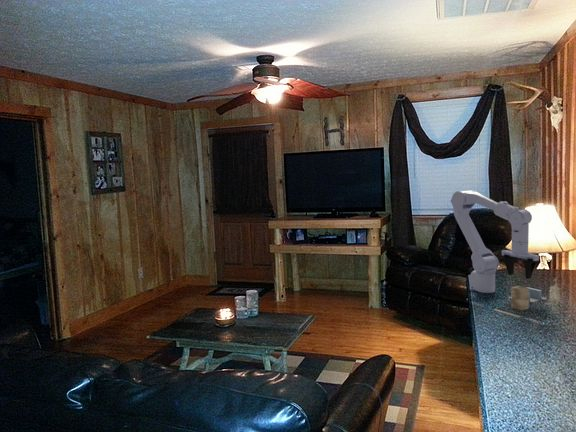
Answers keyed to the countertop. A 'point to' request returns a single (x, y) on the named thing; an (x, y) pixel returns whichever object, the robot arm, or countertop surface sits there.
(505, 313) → the mat
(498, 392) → the countertop surface
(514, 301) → the peg
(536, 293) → the vise
